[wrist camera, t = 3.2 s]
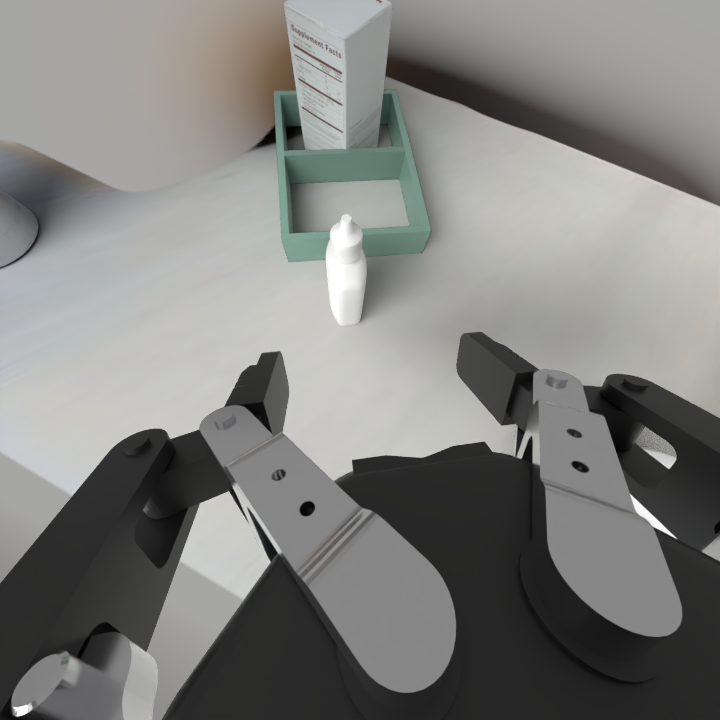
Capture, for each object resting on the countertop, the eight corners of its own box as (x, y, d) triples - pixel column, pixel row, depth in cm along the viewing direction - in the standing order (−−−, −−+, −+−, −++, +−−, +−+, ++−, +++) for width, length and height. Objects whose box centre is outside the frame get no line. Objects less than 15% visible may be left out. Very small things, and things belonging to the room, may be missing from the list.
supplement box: (337, 121, 37) (333, -31, 25) (379, 147, 36) (396, 1, 24) (302, 149, 35) (280, -1, 23) (345, 177, 34) (346, 36, 22)
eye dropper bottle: (318, 319, 29) (300, 240, 17) (335, 277, 30) (330, 179, 19) (356, 332, 29) (364, 260, 17) (371, 289, 30) (388, 197, 19)
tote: (288, 262, 30) (281, 240, 27) (280, 122, 37) (273, 90, 33) (422, 252, 32) (431, 230, 29) (391, 119, 38) (396, 89, 35)
